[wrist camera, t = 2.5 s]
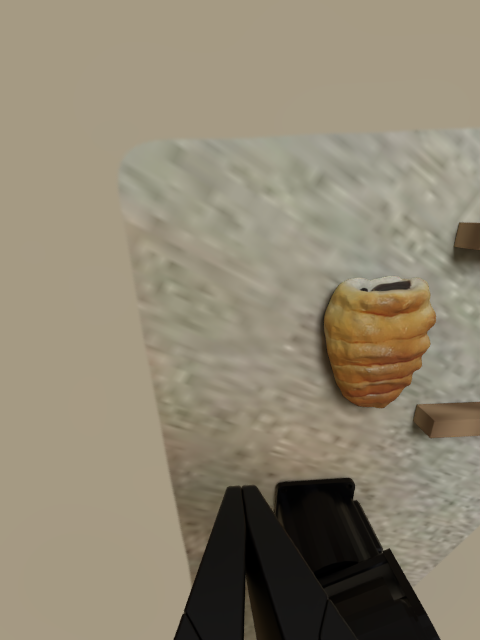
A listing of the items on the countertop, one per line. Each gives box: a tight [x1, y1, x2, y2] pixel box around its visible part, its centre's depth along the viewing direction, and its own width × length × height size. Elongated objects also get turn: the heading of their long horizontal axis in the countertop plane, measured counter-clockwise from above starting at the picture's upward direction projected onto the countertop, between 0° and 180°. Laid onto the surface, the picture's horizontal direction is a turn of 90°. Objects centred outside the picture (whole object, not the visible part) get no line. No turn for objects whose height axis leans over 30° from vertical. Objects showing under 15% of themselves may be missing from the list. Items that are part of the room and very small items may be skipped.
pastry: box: [324, 276, 436, 408], centre depth 20 cm, size 9×7×4 cm
